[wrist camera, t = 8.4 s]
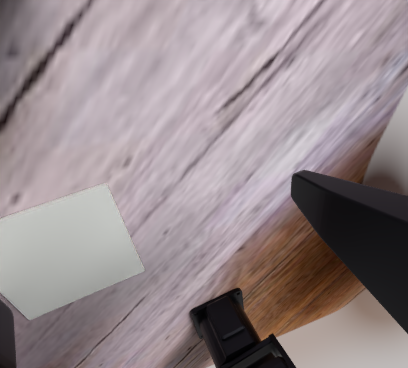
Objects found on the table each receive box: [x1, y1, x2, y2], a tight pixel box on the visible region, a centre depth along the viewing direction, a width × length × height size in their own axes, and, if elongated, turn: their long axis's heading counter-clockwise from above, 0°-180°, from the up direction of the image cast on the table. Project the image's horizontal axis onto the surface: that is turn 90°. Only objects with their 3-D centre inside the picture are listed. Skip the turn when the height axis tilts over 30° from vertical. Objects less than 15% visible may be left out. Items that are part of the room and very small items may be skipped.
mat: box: [0, 183, 145, 320], centre depth 22 cm, size 10×10×1 cm
